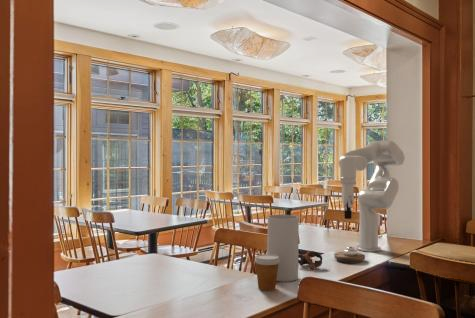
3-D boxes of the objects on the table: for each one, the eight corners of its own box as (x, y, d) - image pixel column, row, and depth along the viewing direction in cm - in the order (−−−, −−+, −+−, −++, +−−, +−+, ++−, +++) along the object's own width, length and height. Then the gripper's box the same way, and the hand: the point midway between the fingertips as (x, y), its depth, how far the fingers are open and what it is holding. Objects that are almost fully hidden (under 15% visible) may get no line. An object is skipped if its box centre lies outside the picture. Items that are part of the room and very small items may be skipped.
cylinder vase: (296, 283, 180) (297, 219, 180) (265, 281, 182) (265, 218, 182) (299, 275, 192) (299, 215, 192) (269, 273, 195) (269, 214, 194)
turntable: (332, 256, 227) (332, 250, 227) (361, 257, 226) (361, 251, 226) (336, 263, 213) (336, 257, 213) (367, 264, 212) (367, 258, 212)
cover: (342, 253, 222) (342, 245, 222) (355, 254, 221) (355, 246, 221) (344, 256, 216) (344, 248, 216) (357, 256, 215) (357, 248, 215)
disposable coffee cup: (272, 293, 166) (272, 260, 166) (249, 289, 171) (249, 257, 171) (283, 287, 174) (284, 255, 174) (261, 283, 179) (262, 252, 179)
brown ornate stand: (316, 265, 211) (323, 251, 208) (318, 279, 203) (325, 265, 199) (291, 258, 211) (297, 245, 207) (292, 272, 202) (298, 258, 199)
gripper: (338, 180, 235) (338, 216, 235) (342, 182, 220) (342, 220, 220) (353, 180, 234) (353, 216, 234) (358, 182, 219) (358, 221, 219)
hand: (347, 218), depth 227 cm, fingers closed
